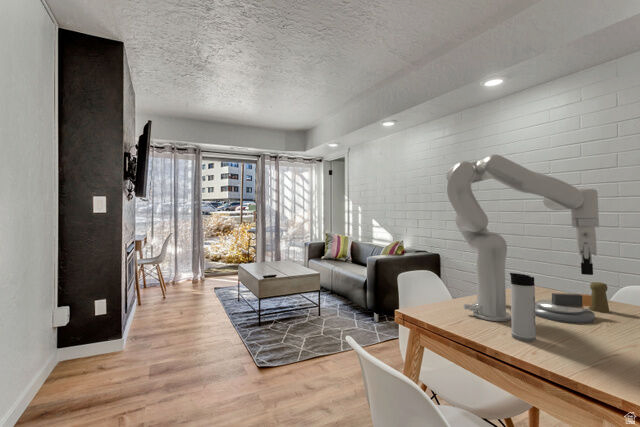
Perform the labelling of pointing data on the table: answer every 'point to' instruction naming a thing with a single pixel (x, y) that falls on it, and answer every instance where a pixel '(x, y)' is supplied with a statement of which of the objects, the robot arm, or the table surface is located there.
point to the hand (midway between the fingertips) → (587, 274)
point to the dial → (566, 303)
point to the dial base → (566, 316)
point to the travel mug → (523, 307)
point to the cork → (599, 297)
